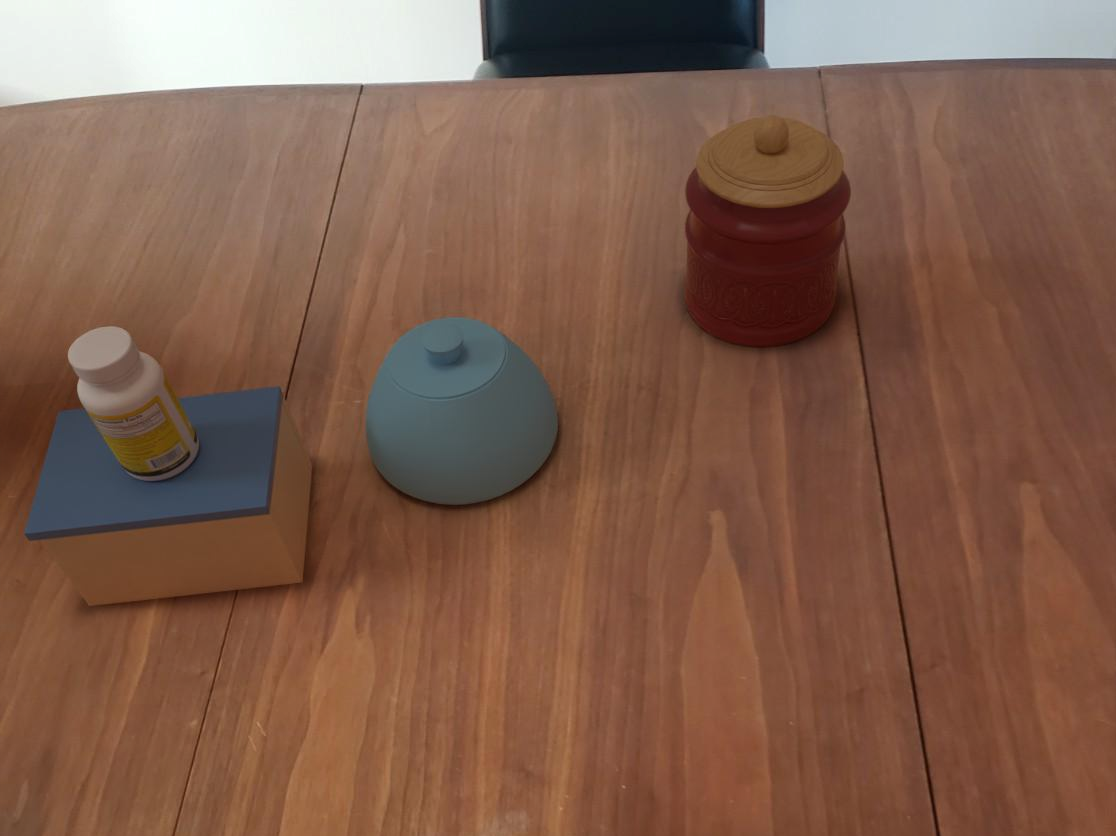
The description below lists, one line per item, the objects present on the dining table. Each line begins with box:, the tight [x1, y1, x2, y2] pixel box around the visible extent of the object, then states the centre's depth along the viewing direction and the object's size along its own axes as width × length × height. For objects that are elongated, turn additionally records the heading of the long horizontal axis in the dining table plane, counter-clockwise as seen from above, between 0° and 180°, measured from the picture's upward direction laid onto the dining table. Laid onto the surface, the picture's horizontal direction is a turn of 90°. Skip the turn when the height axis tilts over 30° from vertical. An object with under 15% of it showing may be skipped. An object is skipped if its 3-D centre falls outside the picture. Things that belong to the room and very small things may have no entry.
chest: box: [38, 394, 313, 607], centre depth 79 cm, size 16×12×9 cm
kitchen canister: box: [684, 114, 852, 348], centre depth 88 cm, size 13×13×18 cm
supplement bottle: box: [67, 326, 199, 481], centre depth 71 cm, size 5×5×10 cm
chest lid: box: [23, 386, 284, 542], centre depth 75 cm, size 16×12×1 cm
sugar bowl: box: [365, 316, 559, 506], centre depth 82 cm, size 15×15×12 cm
